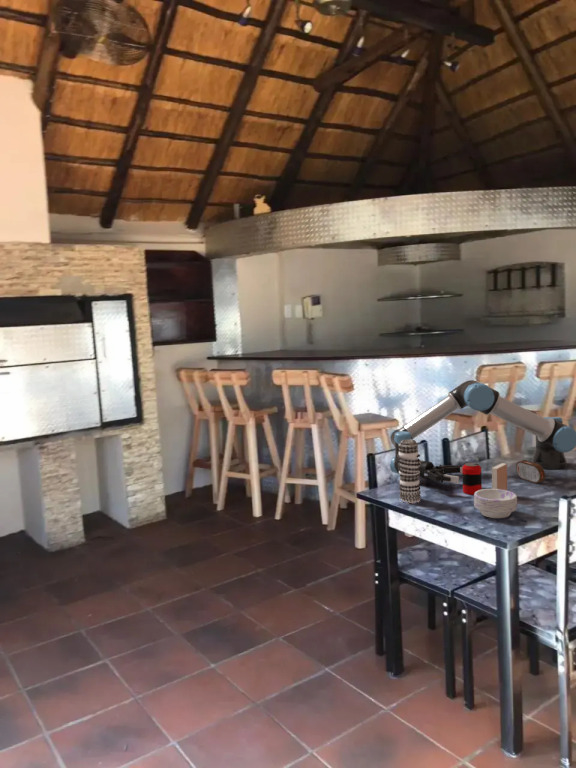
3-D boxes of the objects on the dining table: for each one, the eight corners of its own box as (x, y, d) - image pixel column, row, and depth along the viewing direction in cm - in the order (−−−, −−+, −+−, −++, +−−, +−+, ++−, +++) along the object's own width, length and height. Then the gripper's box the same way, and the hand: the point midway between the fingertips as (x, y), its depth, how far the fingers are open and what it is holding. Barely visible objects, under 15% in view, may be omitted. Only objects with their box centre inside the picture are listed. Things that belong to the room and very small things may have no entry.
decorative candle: (409, 495, 256) (407, 437, 253) (426, 500, 249) (424, 440, 246) (394, 500, 251) (391, 440, 248) (410, 505, 244) (408, 444, 241)
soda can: (482, 495, 251) (482, 466, 249) (463, 495, 252) (462, 466, 251) (480, 489, 258) (480, 462, 257) (462, 489, 260) (461, 462, 258)
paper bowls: (523, 512, 228) (523, 491, 227) (507, 524, 217) (507, 502, 216) (484, 505, 238) (484, 485, 237) (467, 516, 227) (466, 496, 226)
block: (492, 499, 245) (491, 468, 243) (502, 493, 251) (501, 463, 249) (497, 500, 243) (497, 468, 241) (507, 494, 249) (507, 463, 248)
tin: (545, 484, 260) (545, 465, 259) (540, 485, 259) (539, 466, 258) (520, 476, 274) (520, 458, 273) (514, 477, 273) (514, 459, 272)
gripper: (437, 471, 280) (480, 477, 265) (407, 484, 262) (451, 492, 247) (437, 455, 279) (480, 461, 264) (406, 467, 261) (451, 474, 246)
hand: (466, 476), depth 256 cm, fingers open, 13 cm apart
